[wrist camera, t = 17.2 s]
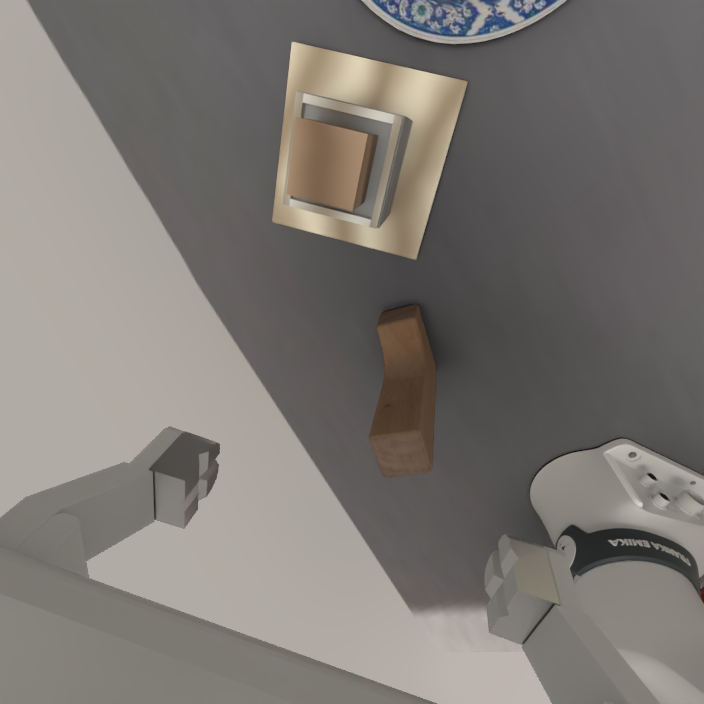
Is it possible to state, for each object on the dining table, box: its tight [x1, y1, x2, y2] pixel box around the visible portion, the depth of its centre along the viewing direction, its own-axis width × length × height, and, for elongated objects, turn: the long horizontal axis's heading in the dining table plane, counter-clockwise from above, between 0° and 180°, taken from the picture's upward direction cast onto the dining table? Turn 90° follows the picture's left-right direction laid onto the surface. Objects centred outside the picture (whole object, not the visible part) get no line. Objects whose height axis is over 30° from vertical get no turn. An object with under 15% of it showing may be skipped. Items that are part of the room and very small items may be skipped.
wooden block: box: [369, 304, 437, 477], centre depth 41 cm, size 9×4×18 cm, turn 19°
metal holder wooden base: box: [272, 42, 468, 260], centre depth 37 cm, size 16×16×10 cm
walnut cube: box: [287, 117, 379, 211], centre depth 31 cm, size 5×5×5 cm
